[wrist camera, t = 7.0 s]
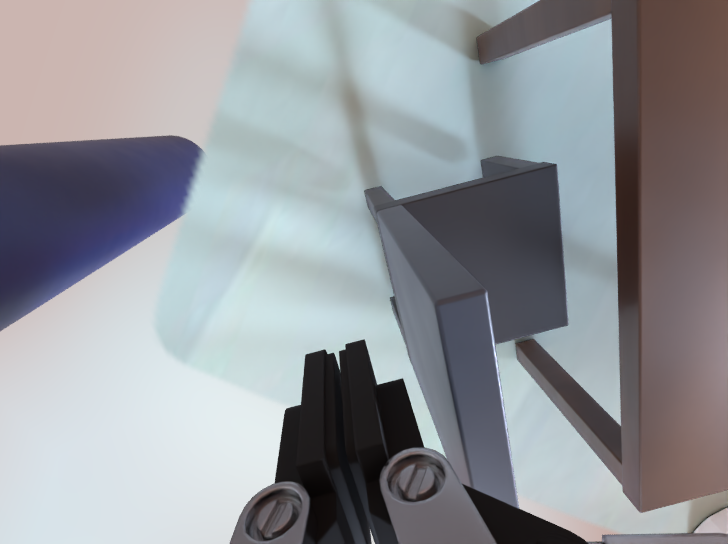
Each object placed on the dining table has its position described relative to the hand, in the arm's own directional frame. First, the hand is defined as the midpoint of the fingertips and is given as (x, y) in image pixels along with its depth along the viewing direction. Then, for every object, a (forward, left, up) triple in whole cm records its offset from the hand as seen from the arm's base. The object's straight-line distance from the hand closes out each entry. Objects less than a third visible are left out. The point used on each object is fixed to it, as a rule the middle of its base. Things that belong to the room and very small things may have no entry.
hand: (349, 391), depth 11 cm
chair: (+6, 0, -11) cm, 12 cm away
